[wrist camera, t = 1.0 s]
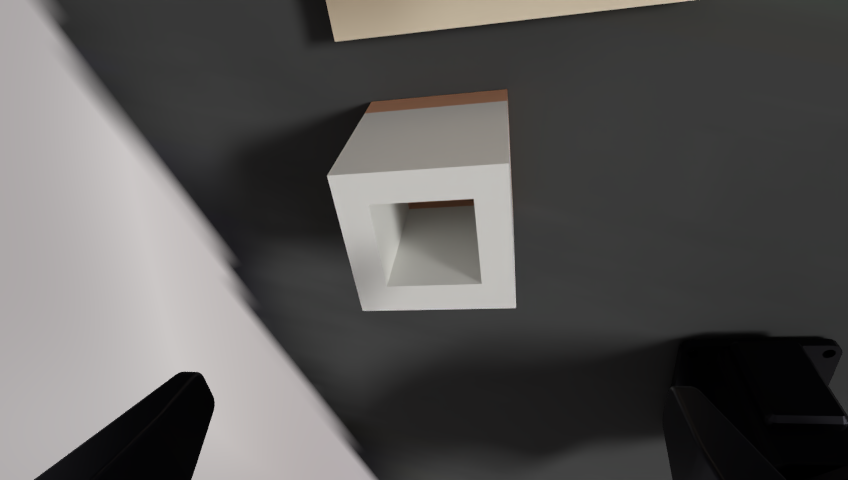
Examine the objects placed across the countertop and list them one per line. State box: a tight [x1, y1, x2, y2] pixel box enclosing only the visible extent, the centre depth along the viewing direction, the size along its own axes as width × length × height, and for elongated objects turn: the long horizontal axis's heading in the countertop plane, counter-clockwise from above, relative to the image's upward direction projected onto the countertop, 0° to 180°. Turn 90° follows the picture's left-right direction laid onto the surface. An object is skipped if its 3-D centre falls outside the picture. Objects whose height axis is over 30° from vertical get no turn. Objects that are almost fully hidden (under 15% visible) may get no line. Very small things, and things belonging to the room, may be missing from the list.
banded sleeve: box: [327, 89, 516, 311], centre depth 18 cm, size 5×5×6 cm
